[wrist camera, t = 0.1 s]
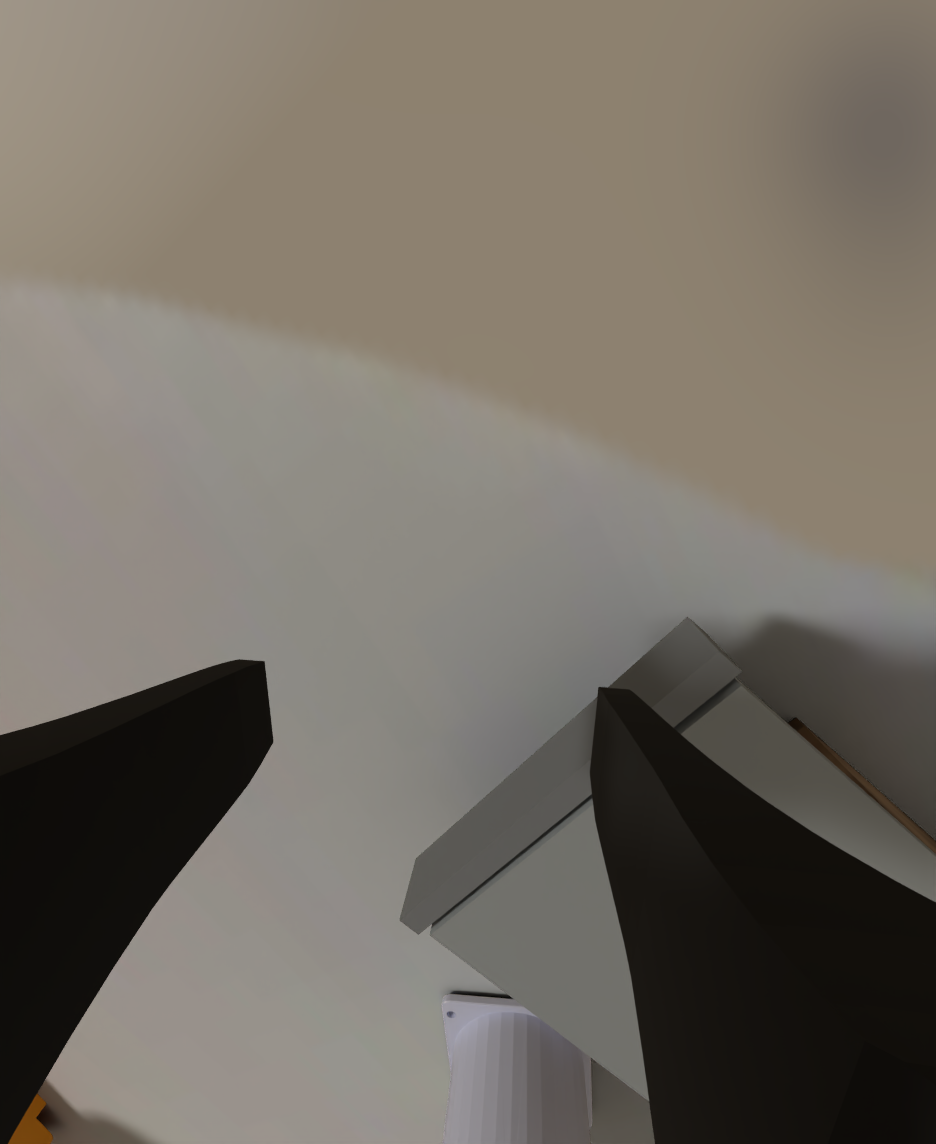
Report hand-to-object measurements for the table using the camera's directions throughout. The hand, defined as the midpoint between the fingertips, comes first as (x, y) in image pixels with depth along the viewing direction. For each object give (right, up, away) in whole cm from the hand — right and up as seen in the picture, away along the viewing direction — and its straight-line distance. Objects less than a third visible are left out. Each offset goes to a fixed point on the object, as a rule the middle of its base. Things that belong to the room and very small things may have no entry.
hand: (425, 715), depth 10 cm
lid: (+8, -8, +8) cm, 14 cm away
